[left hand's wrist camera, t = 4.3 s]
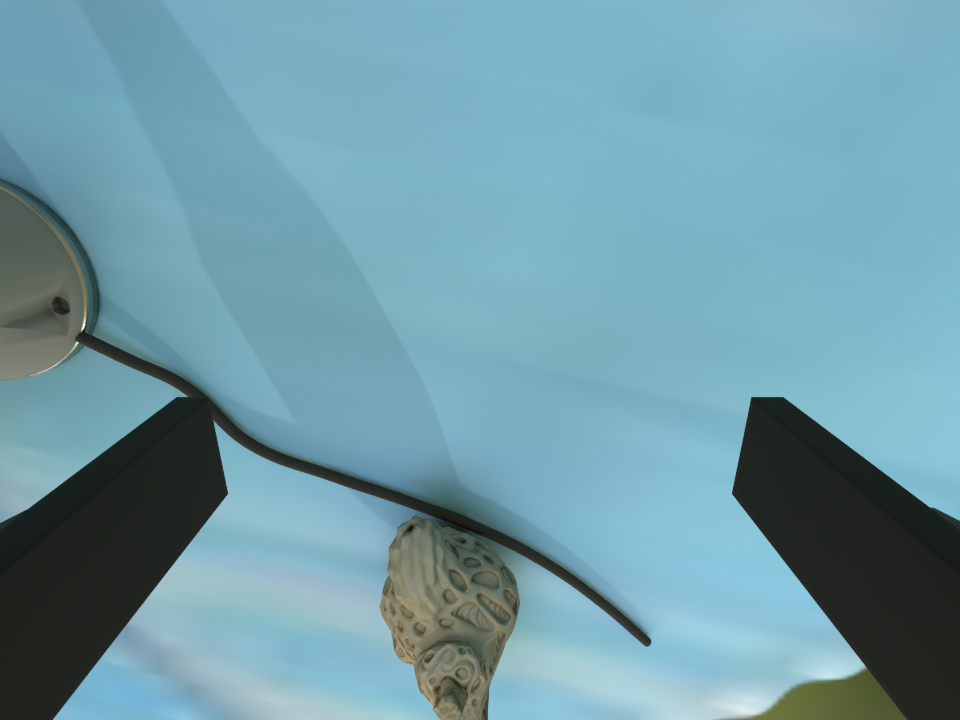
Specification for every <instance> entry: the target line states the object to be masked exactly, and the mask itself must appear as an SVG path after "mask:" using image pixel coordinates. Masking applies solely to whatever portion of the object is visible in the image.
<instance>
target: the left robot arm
mask: <svg viewBox="0 0 960 720" xmlns="http://www.w3.org/2000/svg"><path fill="white" fill-rule="evenodd" d="M227 494H228V491H227V486H226V481H225V476H224V471H223V466H222V462H221V457H220V452H219V447H218V442H217V437H216V432H215V427H214V422H213V417H212V412H211V407H210V402H209V397H176V398H175V399H174V400H172V401H171V402H170V403H168V404H167V405H166V406H164V407H163V408H162V409H160V410H159V411H158V412H157V413H155V414H154V415H153V416H151V417H150V418H149V419H147V420H146V421H145V422H143V423H142V424H141V425H139V426H138V427H137V428H135V429H134V430H133V431H131V432H130V433H129V434H127V435H126V436H125V437H123V438H122V439H121V440H119V441H118V442H117V443H115V444H114V445H113V446H111V447H110V448H109V449H107V450H106V451H105V452H103V453H102V454H101V455H99V456H98V457H97V458H95V459H94V460H93V461H91V462H90V463H89V464H87V465H86V466H85V467H83V468H82V469H81V470H79V471H78V472H77V473H75V474H74V475H73V476H71V477H70V478H69V479H67V480H66V481H65V482H63V483H62V484H61V485H59V486H58V487H57V488H55V489H54V490H53V491H51V492H50V493H49V494H48V495H46V496H45V497H44V498H42V499H41V500H40V501H38V502H37V503H36V504H34V505H33V506H32V507H30V508H29V509H28V510H25V511H23V512H21V513H19V514H17V515H15V516H13V517H11V518H10V519H8V520H6V521H4V522H2V523H0V720H53V719H54V717H55V716H56V715H57V713H58V712H59V711H60V710H61V708H62V707H63V706H64V704H65V703H66V702H67V701H68V699H69V698H70V697H71V695H72V694H73V693H74V692H75V690H76V689H77V688H78V686H79V685H80V684H81V683H82V681H83V680H84V679H85V677H86V676H87V675H88V674H89V672H90V671H91V670H92V668H93V667H94V666H95V665H96V663H97V662H98V661H99V659H100V658H101V657H102V655H103V654H104V653H105V652H106V650H107V649H108V648H109V646H110V645H111V644H112V643H113V641H114V640H115V639H116V637H117V636H118V635H119V634H120V632H121V631H122V630H123V628H124V627H125V626H126V625H127V623H128V622H129V621H130V619H131V618H132V617H133V616H134V614H135V613H136V612H137V610H138V609H139V608H140V607H141V605H142V604H143V603H144V601H145V600H146V599H147V598H148V596H149V595H150V594H151V592H152V591H153V590H154V589H155V587H156V586H157V585H158V583H159V582H160V581H161V579H162V578H163V577H164V576H165V574H166V573H167V572H168V570H169V569H170V568H171V567H172V565H173V564H174V563H175V561H176V560H177V559H178V558H179V556H180V555H181V554H182V552H183V551H184V550H185V549H186V547H187V546H188V545H189V543H190V542H191V541H192V540H193V538H194V537H195V536H196V534H197V533H198V532H199V531H200V529H201V528H202V527H203V525H204V524H205V523H206V522H207V520H208V519H209V518H210V516H211V515H212V514H213V512H214V511H215V510H216V509H217V507H218V506H219V505H220V503H221V502H222V501H223V500H224V498H225V497H226V496H227ZM732 494H733V496H734V497H735V498H736V500H737V501H738V502H739V503H740V505H741V506H742V507H743V509H744V510H745V511H746V512H747V514H748V515H749V516H750V518H751V519H752V520H753V522H754V523H755V524H756V525H757V527H758V528H759V529H760V531H761V532H762V533H763V534H764V536H765V537H766V538H767V540H768V541H769V542H770V543H771V545H772V546H773V547H774V549H775V550H776V551H777V552H778V554H779V555H780V556H781V558H782V559H783V560H784V561H785V563H786V564H787V565H788V567H789V568H790V569H791V570H792V572H793V573H794V574H795V576H796V577H797V578H798V579H799V581H800V582H801V583H802V585H803V586H804V587H805V589H806V590H807V591H808V592H809V594H810V595H811V596H812V598H813V599H814V600H815V601H816V603H817V604H818V605H819V607H820V608H821V609H822V610H823V612H824V613H825V614H826V616H827V617H828V618H829V619H830V621H831V622H832V623H833V625H834V626H835V627H836V628H837V630H838V631H839V632H840V634H841V635H842V636H843V637H844V639H845V640H846V641H847V643H848V644H849V645H850V646H851V648H852V649H853V650H854V652H855V653H856V654H857V656H858V657H859V658H860V659H861V661H862V662H863V663H864V665H865V666H866V667H867V668H868V670H869V671H870V672H871V673H872V675H873V676H874V677H875V679H876V680H877V681H878V683H879V684H880V685H881V686H882V688H883V689H884V690H885V692H886V693H887V694H888V695H889V697H890V698H891V699H892V701H893V702H894V703H895V704H896V706H897V707H898V708H899V710H900V711H901V712H902V713H903V715H904V716H905V717H906V719H907V720H960V521H959V520H957V519H955V518H953V517H951V516H949V515H947V514H945V513H943V512H941V511H939V510H937V509H935V508H930V507H928V506H927V505H926V504H924V503H923V502H922V501H920V500H919V499H918V498H916V497H915V496H914V495H912V494H911V493H910V492H909V491H907V490H906V489H905V488H903V487H902V486H901V485H899V484H898V483H897V482H895V481H894V480H893V479H891V478H890V477H889V476H887V475H886V474H885V473H883V472H882V471H881V470H879V469H878V468H877V467H875V466H874V465H873V464H871V463H870V462H869V461H867V460H866V459H865V458H863V457H862V456H861V455H859V454H858V453H857V452H855V451H854V450H853V449H851V448H850V447H849V446H847V445H846V444H845V443H843V442H842V441H841V440H839V439H838V438H837V437H835V436H834V435H833V434H831V433H830V432H829V431H827V430H826V429H825V428H823V427H822V426H821V425H819V424H818V423H817V422H815V421H814V420H813V419H811V418H810V417H809V416H807V415H806V414H805V413H803V412H802V411H801V410H800V409H798V408H797V407H796V406H794V405H793V404H792V403H790V402H789V401H788V400H786V399H785V398H784V397H751V402H750V407H749V412H748V417H747V422H746V427H745V432H744V437H743V442H742V447H741V452H740V457H739V462H738V466H737V471H736V476H735V481H734V486H733V491H732Z"/></svg>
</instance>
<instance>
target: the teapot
mask: <svg viewBox="0 0 960 720" xmlns="http://www.w3.org/2000/svg"><path fill="white" fill-rule="evenodd" d="M387 570H388V573H389V577H388V578H387V580H386V581H385V584H384V588H383V593H382V600H381V604H380V610H381V613H382V617H383V618H384V620H385V622H386V623H387V625H388V627H389V628H390V630H391V633H392V639H393V644H394V650H395V653H396V655H397V657H398V658H399V659H400V660H402V661H403V662H405V663H407V664H412V665H414V668H415V676H416V680H417V684H418V687H419V690H420V693H421V694H424V696H425V697H426V698H427V699H428V701H429V702H430V703H431V705H432V706H434V708H433V710H434V712H435V713H436V714H437V716H438V717H439V718H440V719H441V720H488V701H489V686H490V682H491V680H492V678H493V675H494V673H495V670H496V668H497V665H498V663H499V660H500V657H501V655H502V652H503V650H504V646H505V643H506V641H507V640H508V638H509V636H510V635H511V633H512V631H513V629H514V625H515V622H516V619H517V615H518V610H519V605H520V601H519V595H518V589H517V583H516V580H515V577H514V575H513V573H512V572H511V571H510V570H509V569H508V568H507V567H506V566H505V563H504V562H503V561H502V560H501V559H500V558H499V557H498V555H497V554H496V553H495V552H493V551H492V550H491V549H490V548H489V546H488V545H487V544H486V543H484V542H482V541H480V540H479V539H477V538H475V537H473V536H471V535H469V534H467V533H464V532H460V531H457V530H455V529H453V528H451V527H449V526H446V527H443V528H442V527H441V526H440V525H438V524H437V523H436V522H434V521H431V520H430V519H422V518H420V517H418V516H414V517H413V518H412V519H411V520H410V521H408V522H405V523H402V524H401V526H400V527H398V531H397V536H396V538H395V539H394V541H393V542H392V544H391V545H390V547H389V564H388V568H387Z"/></svg>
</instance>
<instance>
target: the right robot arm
mask: <svg viewBox="0 0 960 720" xmlns="http://www.w3.org/2000/svg"><path fill="white" fill-rule="evenodd" d="M97 312H98V293H97V287H96V281H95V278H94V274H93V271H92V268H91V266H90V263H89V261H88V259H87V257H86V255H85V252H84V251H83V249H82V247H81V246H80V244H79V242H78V241H77V239H76V238H75V236H74V235H73V234H72V232H71V231H70V230H69V229H68V227H67V226H66V225H65V224H64V223H63V222H62V221H61V220H60V218H59V217H58V216H57V215H56V214H54V213H53V212H52V211H51V210H50V209H49V208H48V207H47V206H45V205H44V204H43V203H42V202H40V201H39V200H38V199H36V198H35V197H33V196H32V195H30V194H29V193H27V192H25V191H23V190H22V189H20V188H18V187H16V186H14V185H12V184H10V183H8V182H5V181H2V180H0V380H9V379H18V378H23V377H27V376H32V375H36V374H39V373H42V372H44V371H47V370H49V369H51V368H53V367H55V366H57V365H60V364H62V363H64V362H66V361H67V360H69V359H70V358H72V357H73V356H74V355H76V354H77V353H78V352H79V351H80V350H81V349H82V348H83V346H84V345H85V346H87V347H89V348H91V349H93V350H95V351H97V352H99V353H101V354H104V355H106V356H108V357H110V358H112V359H114V360H116V361H118V362H120V363H123V364H125V365H127V366H129V367H131V368H133V369H136V370H138V371H141V372H143V373H145V374H148V375H150V376H153V377H155V378H158V379H160V380H162V381H164V382H166V383H168V384H170V385H172V386H173V387H175V388H177V389H178V390H180V391H181V392H183V393H184V394H186V395H187V396H188V397H207V396H205V395H204V394H203V393H202V392H201V391H200V390H198V389H197V388H196V387H194V386H193V385H192V384H190V383H189V382H187V381H186V380H184V379H183V378H181V377H179V376H178V375H176V374H174V373H172V372H170V371H168V370H166V369H163V368H161V367H159V366H156V365H154V364H152V363H149V362H147V361H144V360H142V359H140V358H138V357H135V356H133V355H131V354H129V353H127V352H125V351H123V350H121V349H119V348H117V347H115V346H113V345H110V344H108V343H106V342H104V341H102V340H100V339H98V338H96V337H94V336H92V335H91V334H92V331H93V329H94V326H95V323H96V319H97ZM209 402H210V407H211V412H212V417H213V420H214V421H215V422H216V423H217V424H218V425H219V426H220V427H221V428H222V429H223V430H224V431H225V432H226V433H227V434H228V435H229V436H230V437H232V438H233V439H234V440H235V441H237V442H238V443H239V444H241V445H242V446H244V447H245V448H247V449H249V450H250V451H252V452H254V453H256V454H258V455H260V456H261V457H264V458H266V459H268V460H270V461H272V462H275V463H277V464H280V465H283V466H286V467H289V468H292V469H295V470H298V471H301V472H304V473H308V474H311V475H314V476H317V477H320V478H323V479H326V480H329V481H332V482H335V483H337V484H340V485H343V486H346V487H349V488H352V489H355V490H358V491H361V492H364V493H367V494H370V495H373V496H376V497H380V498H383V499H386V500H389V501H392V502H395V503H397V504H400V505H403V506H406V507H409V508H412V509H414V510H417V511H420V512H423V513H426V514H428V515H431V516H434V517H437V518H440V519H442V520H445V521H448V522H450V523H453V524H455V525H458V526H461V527H463V528H465V529H468V530H470V531H473V532H475V533H477V534H479V535H482V536H484V537H486V538H488V539H490V540H493V541H495V542H497V543H499V544H501V545H503V546H505V547H507V548H509V549H511V550H513V551H515V552H517V553H519V554H521V555H523V556H525V557H526V558H528V559H530V560H532V561H533V562H535V563H537V564H539V565H540V566H542V567H544V568H545V569H547V570H548V571H550V572H552V573H553V574H555V575H556V576H558V577H559V578H561V579H563V580H564V581H565V582H567V583H568V584H570V585H571V586H573V587H574V588H575V589H577V590H578V591H579V592H581V593H582V594H583V595H585V596H586V597H587V598H589V599H590V600H591V601H592V602H594V603H595V604H596V605H598V606H599V607H600V608H601V609H603V610H604V611H605V612H606V613H608V614H609V615H610V616H611V617H613V618H614V619H615V620H616V621H617V622H618V623H620V624H621V625H622V626H623V627H624V628H625V629H626V630H628V631H629V632H630V633H631V634H632V635H633V636H634V637H635V638H637V639H638V640H639V641H640V642H641V643H642V644H643V645H645V646H646V647H648V646H649V645H650V644H651V639H650V638H649V637H648V636H646V635H645V634H644V633H643V632H642V631H641V630H640V629H639V628H637V627H636V626H635V625H634V624H633V623H632V622H631V621H630V620H629V619H627V618H626V617H625V616H624V615H623V614H622V613H621V612H619V611H618V610H617V609H616V608H615V607H614V606H612V605H611V604H610V603H609V602H607V601H606V600H605V599H604V598H602V597H601V596H600V595H599V594H597V593H596V592H595V591H594V590H592V589H591V588H590V587H588V586H587V585H586V584H584V583H583V582H582V581H580V580H579V579H578V578H576V577H575V576H574V575H572V574H571V573H569V572H568V571H566V570H565V569H563V568H562V567H560V566H559V565H557V564H556V563H554V562H553V561H551V560H549V559H548V558H546V557H544V556H543V555H541V554H539V553H538V552H536V551H534V550H532V549H531V548H529V547H527V546H525V545H523V544H522V543H520V542H518V541H516V540H514V539H512V538H510V537H508V536H506V535H504V534H502V533H500V532H497V531H495V530H493V529H491V528H489V527H487V526H484V525H482V524H480V523H478V522H475V521H473V520H471V519H468V518H466V517H463V516H461V515H458V514H456V513H453V512H451V511H448V510H445V509H442V508H440V507H437V506H434V505H431V504H429V503H426V502H423V501H420V500H418V499H415V498H412V497H409V496H406V495H404V494H401V493H398V492H395V491H392V490H389V489H386V488H383V487H380V486H377V485H374V484H371V483H368V482H365V481H362V480H359V479H356V478H353V477H350V476H347V475H344V474H341V473H338V472H336V471H333V470H330V469H327V468H324V467H321V466H318V465H315V464H312V463H309V462H305V461H302V460H299V459H296V458H293V457H290V456H287V455H284V454H282V453H279V452H277V451H275V450H273V449H270V448H268V447H266V446H264V445H262V444H261V443H259V442H257V441H255V440H254V439H252V438H251V437H249V436H248V435H246V434H245V433H244V432H242V431H241V430H240V429H239V428H238V427H236V426H235V425H234V424H233V423H232V422H231V421H230V420H229V419H228V418H227V417H226V416H225V415H224V414H223V413H222V412H221V411H220V409H219V408H218V407H217V406H216V405H215V404H214V403H213V402H212V401H211V400H210V399H209Z"/></svg>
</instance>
